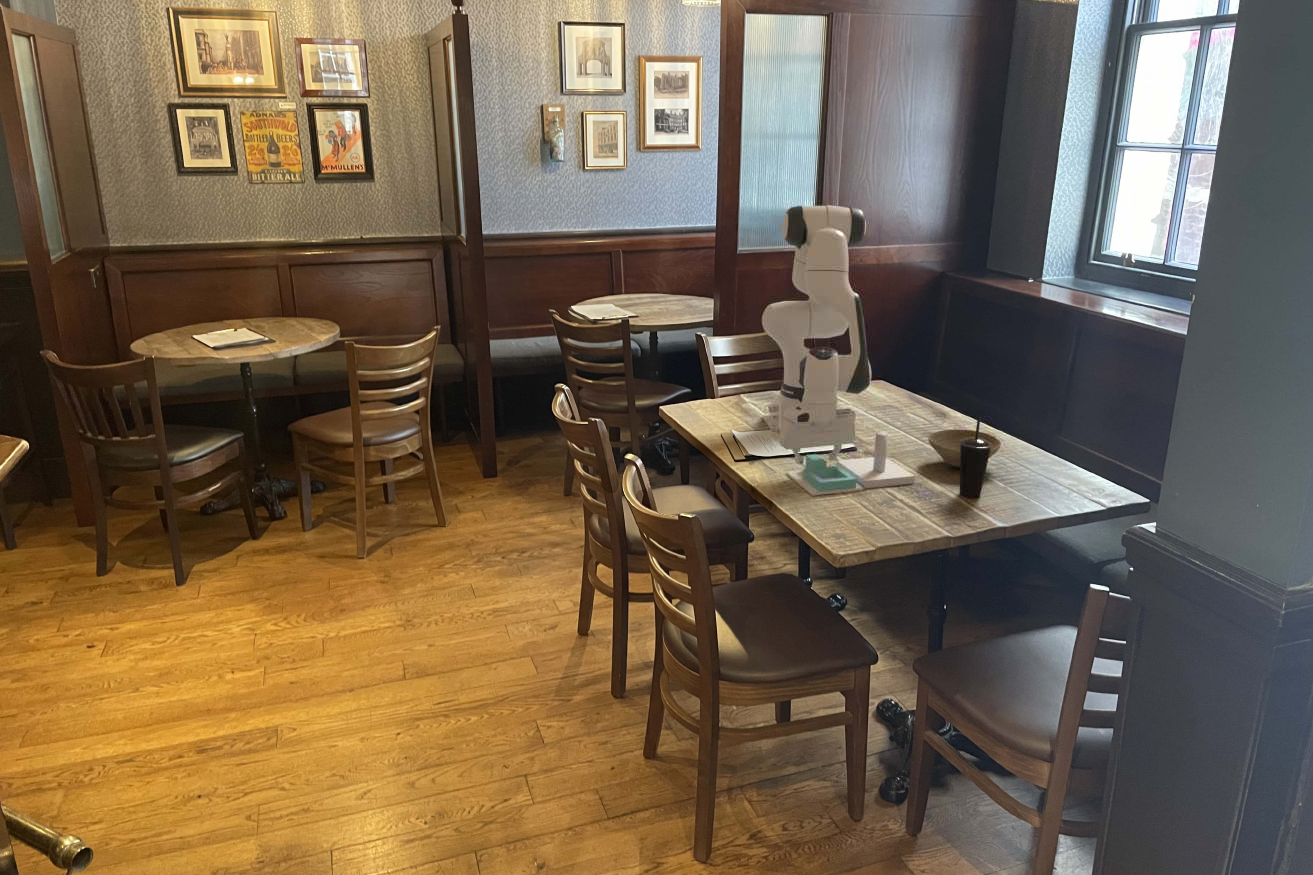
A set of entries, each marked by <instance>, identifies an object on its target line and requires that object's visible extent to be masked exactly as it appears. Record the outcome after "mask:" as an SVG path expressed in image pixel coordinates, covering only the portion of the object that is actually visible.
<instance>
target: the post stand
mask: <svg viewBox="0 0 1313 875" xmlns="http://www.w3.org/2000/svg"><path fill="white" fill-rule="evenodd" d="M888 438H889V434H888V433H887V432H883V431H881V432H880V431H878V432H876V433H875V439H874V441H875V443H874V454H873V456H872V457H862V458H850V459H840V460H836V466H839V467H841V468H842V469H844V470H845V471H846V472H848V473H849V474H851V475H852V476H853V477H855V478H856V479H857V481H856V483H858V484H859V485H860V486H862V487H863V489H871V488H882V487H890V486H891V487H892V486H893V487H894V486H899V485H900V486H901V485H910V484H911V485H912V484H915V479H916V476H915V475H914V474H913V473H911V472H909V471H908V470H907V469H905V468H903V467H901V466H900V465H899V464H897V463H895V462H894V461H892V460H890V459H889V458H888V457H887V453H888V452H887V451H888V450H887V449H888V440H889V439H888Z"/></svg>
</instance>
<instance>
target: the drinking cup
mask: <svg viewBox="0 0 1313 875" xmlns="http://www.w3.org/2000/svg"><path fill="white" fill-rule="evenodd" d="M980 424H981V417H977V420H976V428H975V431H976V435H975V437H970V438H966V439H962V440H960V443H959V444H960V468H959V495H960V496H961V497H962V498H964V499H965V498H966V499H972V500H973V499H975V500H976V499H979V498H981V494H982V493H981V492H982V488H983V484H984V481H985V477H986V475H985V474H986V471H987V467H988V463H989V459H990V458H989V454H990V450H991V448H992V446H993V445H992V443H991V442H989V441H987V440H985V439H982V438H978V435H979V432H980V426H981V425H980Z"/></svg>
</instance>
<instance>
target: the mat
mask: <svg viewBox="0 0 1313 875" xmlns="http://www.w3.org/2000/svg"><path fill="white" fill-rule="evenodd" d="M786 475H787V476H788V477H790V478H791V480H793V481H794V482H795V483H796V484H797V485H799V486H800V487H801V488H803V489H804V490H805V491H806V492H808V493H809V495H811V496H821V495H830V494H838V493H839V494H840V493H849V492H857V491H858V492H859V491H864V487H862V486H861V485H860V484H858V483H857V482H856V488H853V489H843V490H834V491H824V492H819V491H818V490H816V489H815V488H814V487H813V486H811V485H810V484H809V483H808V482H807V481H805V480H804V479H803V469H801V470H791V471H786ZM827 479H837V478H836V477H833V478H823V479H822V480H827Z"/></svg>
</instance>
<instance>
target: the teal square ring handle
mask: <svg viewBox="0 0 1313 875" xmlns="http://www.w3.org/2000/svg"><path fill="white" fill-rule="evenodd" d="M802 470H803V479H804V480H805V481H807V482H808V483H809V484H810V485H811V486H813V487H814V488H815V489H816V490H818V491H819V492H824V491H834V490H843V489H853V488H856V483H857V482H856V481H857V479H856V478H855V477H853V476H852V475H851V474H849V473H848V472H846V471H845V470H844V469H842V468H841V467H839V466H837V465H835V466H834V465H833V466H827V461H826V460H825V459H824V458H823V457H822V456H820V455H818V454H806V455H805V468H804V469H802ZM833 477H836V478H837V479H827V480H822V479H823V478H833Z"/></svg>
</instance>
